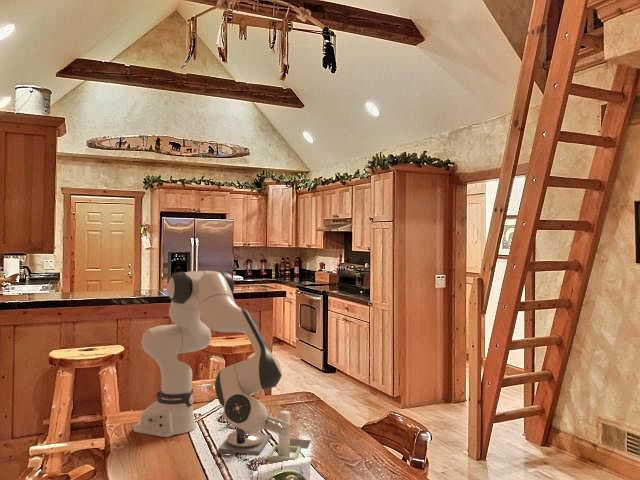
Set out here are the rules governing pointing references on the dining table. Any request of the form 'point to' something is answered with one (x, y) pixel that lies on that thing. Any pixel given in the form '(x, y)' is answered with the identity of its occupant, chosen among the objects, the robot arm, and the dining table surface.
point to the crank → (244, 439)
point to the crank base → (229, 449)
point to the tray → (281, 458)
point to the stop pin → (284, 440)
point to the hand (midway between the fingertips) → (262, 421)
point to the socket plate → (300, 443)
